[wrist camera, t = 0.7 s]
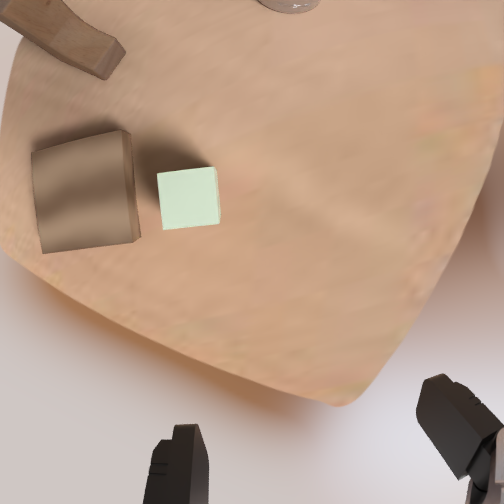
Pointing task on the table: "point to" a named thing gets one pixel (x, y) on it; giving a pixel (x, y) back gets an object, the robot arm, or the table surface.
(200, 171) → the green block
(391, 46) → the table surface
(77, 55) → the wooden block
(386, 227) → the table surface
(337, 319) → the table surface
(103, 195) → the brown tapered block
